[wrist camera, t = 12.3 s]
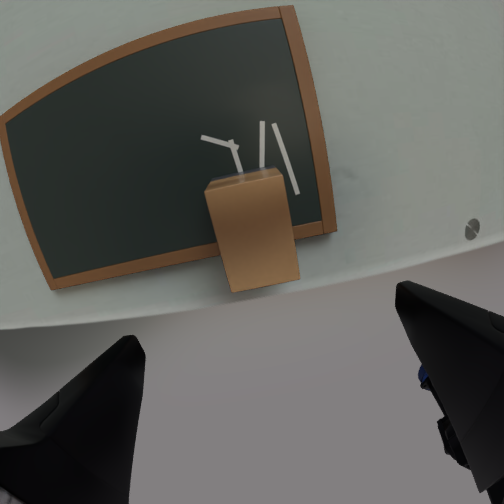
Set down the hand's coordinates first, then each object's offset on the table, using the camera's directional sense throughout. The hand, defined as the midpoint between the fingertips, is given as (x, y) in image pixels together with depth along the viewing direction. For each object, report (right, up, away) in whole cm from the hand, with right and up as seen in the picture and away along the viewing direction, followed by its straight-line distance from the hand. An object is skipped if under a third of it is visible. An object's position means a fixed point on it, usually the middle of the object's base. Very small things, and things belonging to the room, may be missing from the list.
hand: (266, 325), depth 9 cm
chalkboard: (-8, +9, +9) cm, 15 cm away
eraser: (0, +5, +10) cm, 11 cm away
